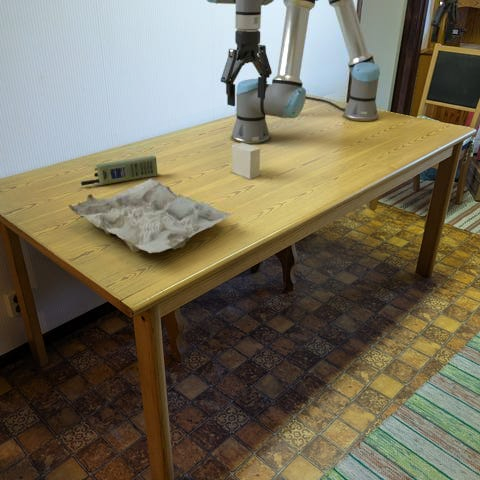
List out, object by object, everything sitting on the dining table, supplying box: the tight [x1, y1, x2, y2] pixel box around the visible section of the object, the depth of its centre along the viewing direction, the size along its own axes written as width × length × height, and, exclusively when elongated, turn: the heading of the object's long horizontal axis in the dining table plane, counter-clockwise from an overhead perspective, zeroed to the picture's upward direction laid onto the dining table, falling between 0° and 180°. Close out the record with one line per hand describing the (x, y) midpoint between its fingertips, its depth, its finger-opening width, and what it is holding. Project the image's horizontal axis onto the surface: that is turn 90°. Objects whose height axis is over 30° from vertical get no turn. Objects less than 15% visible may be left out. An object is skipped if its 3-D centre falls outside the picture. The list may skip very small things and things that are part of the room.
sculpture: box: [68, 178, 232, 254], centre depth 138 cm, size 38×6×30 cm
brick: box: [231, 142, 261, 180], centre depth 171 cm, size 5×8×10 cm, turn 45°
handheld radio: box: [80, 155, 159, 187], centre depth 164 cm, size 7×3×25 cm
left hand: (246, 101), depth 161 cm, fingers open, 13 cm apart
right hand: (441, 41), depth 226 cm, fingers open, 13 cm apart
